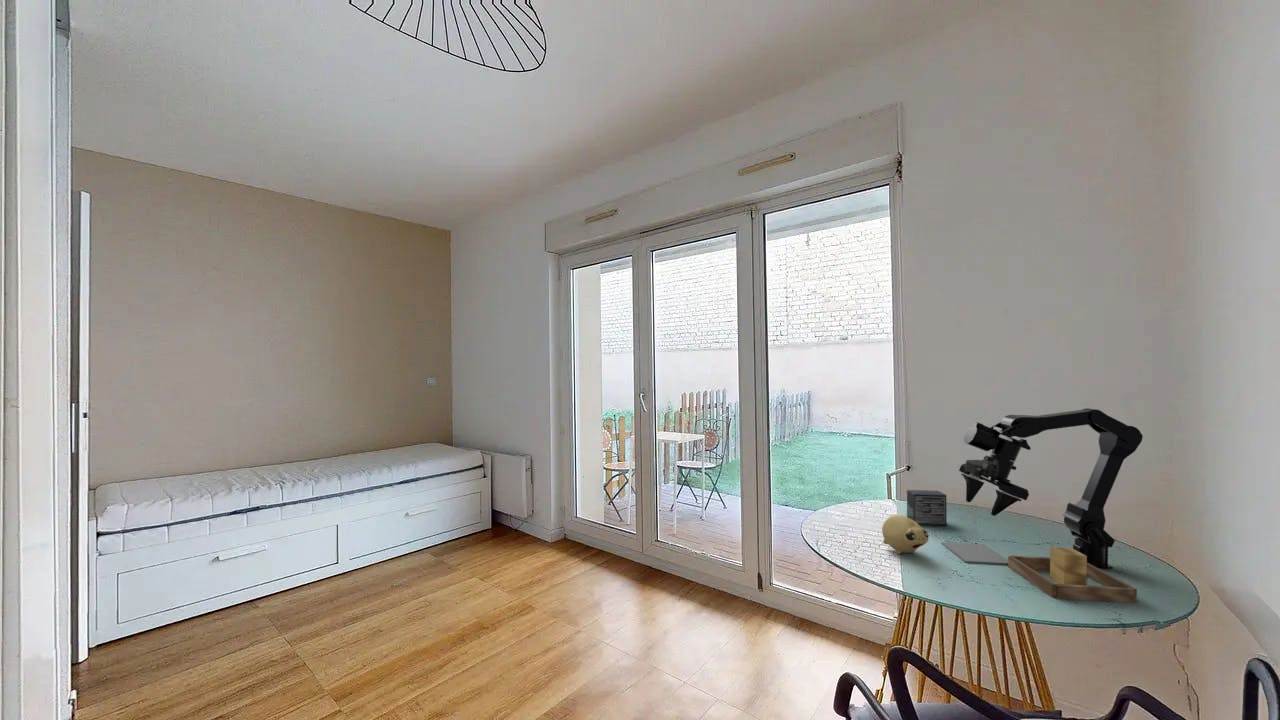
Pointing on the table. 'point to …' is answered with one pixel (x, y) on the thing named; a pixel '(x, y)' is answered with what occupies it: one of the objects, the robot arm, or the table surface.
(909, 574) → the table surface
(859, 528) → the table surface
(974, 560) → the mat
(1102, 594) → the wooden picture frame
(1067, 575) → the ochre block
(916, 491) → the small box
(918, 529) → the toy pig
